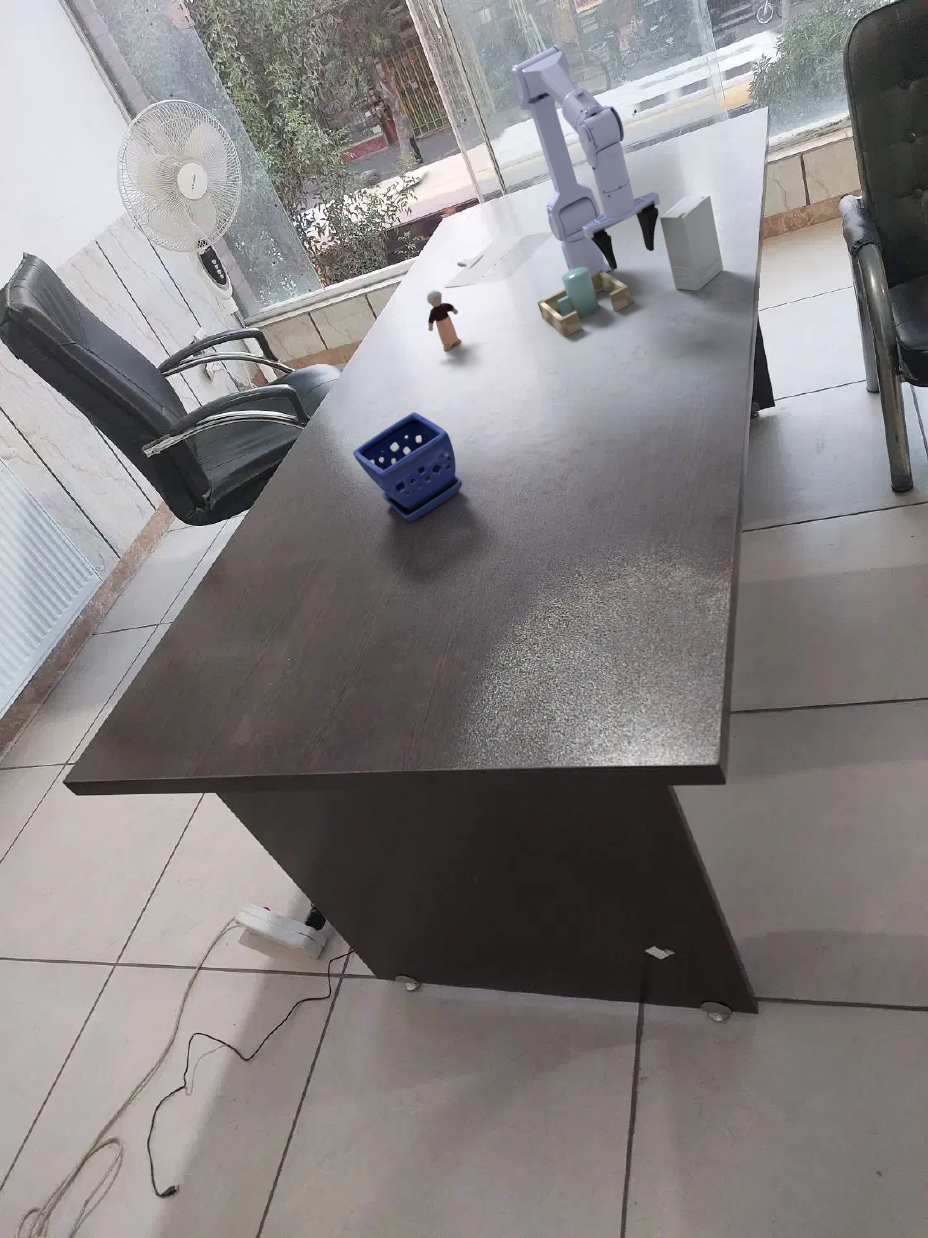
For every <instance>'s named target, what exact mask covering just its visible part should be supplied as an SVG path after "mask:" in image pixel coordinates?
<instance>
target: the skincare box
mask: <svg viewBox="0 0 928 1238" xmlns="http://www.w3.org/2000/svg"><path fill="white" fill-rule="evenodd" d="M712 204H713V203H712V200H711V195H685V196H684V197H682V198H681V199H680V200H679V201H677V203H675V204H674V205H673V206H672V207H671V208H669V209H668V210H667V211H666V212H665V213H663V214H662V215H661V216H660V217H659V220H660V224H661V229H662V234H663V238H664V241H665V242H664V243H665V247H666V250H667V256H668V261H669V265H670V269H671V274H672V275H671V276H672V280H673V283H674V288H675V289H677V290H685V291H686V290H687V291H693V292H695V291H696V292H699V291H700V290H701V289H702V288H703V287H704V286H706V285H707V284H708V283H709V282H710V281H711V280H712V279H713V278H715V277H716V276H717V275H718V274H719V273H721V272H722V270H724V264H723V259H722V254H721V250H720V249H721V248H720V244H719V238H718V233H717V227H716V222H715V221H716V220H715V217H714V216H715V215H714V211H713V205H712Z"/></svg>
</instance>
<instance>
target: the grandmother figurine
mask: <svg viewBox="0 0 928 1238" xmlns="http://www.w3.org/2000/svg"><path fill="white" fill-rule="evenodd" d="M442 297H443V295H442V292H440V291H439V290H438V289H437V290H436V289H434V290H432V289H431V290H430V291H429V292H428V293H427V294H426V301H427V303H428V304H430V305H431V306H432V308H431V310H430V312H429V316H428V321H427V322H428V329H427V330H428V331H429V332H433V330H434V327H433V326H434V323H435V324H436V329H437V332H438V336H439V338H440V341H441V344H442V345H443V346H442V347H443V351H445V352H447V351H449V350H451V349H452V348H453V345H454V346H456V345H458V344H460V343H462V340H461V339H460V338H459V337H458V336H457V332H456V328H455V326H454V324H453V321H452V319H451V317H450V315H449V314H448V313H449V312H451V313H453V314H454V315H458V313H459V311H458V309H456V308H455V306H454V305H453V304H452V303H450V302H449V303H448V302H443V300H442Z"/></svg>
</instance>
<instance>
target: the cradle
mask: <svg viewBox="0 0 928 1238" xmlns="http://www.w3.org/2000/svg"><path fill="white" fill-rule="evenodd" d="M591 279H592V283H593V286H594V290H595V293H596V294H597V293H599V292H601V291H602V289H603V290H604V291H606V292H607V293H609V294H608V295H609V297H610V301H611V305H612V309H613V311H615V312H617V311H620V310H621V309H624V308H625V307H627V306H629V305H632V304H633V300H632V296H631V292H630V291H631V290H630V288H629V285H626V284H625V283H623V282H621V280H618V279H617V278H615V277H614V276H612V275H610V274H609V273H607V272H604V271H602V270H601V271H599V272H597V273H595V274H593V275H591ZM565 296H567V293H566V290H565V288H563V289H561V290H559V291H558V292H555V293H554V294H551V295H548V296H547V297H545V298H544V299H542V300H540V301H538V302H537V305H538V309H539V312H540V314H541V317H542V319H543V320H544V321H545V322H547V323H549V324H550V326H552V327H553V328H554V329H555V330H557V332H559V333H560V334H561V335H562V336H564V337H565V338H566V337H568V336H569V335H572V334H574V333H576V332H577V331H580V330H582V329H583V327H582V324H581V321H580V320H581V319H580V318H579V317H578V313H577V312H576V311H574V312H570V313H568V314H566V315H564V316H563V315H562V314H561V313H558V312H561V311H560V308H559V305H558V301H557V300H559V299H561V298H563V297H565Z"/></svg>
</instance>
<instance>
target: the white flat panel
mask: <svg viewBox="0 0 928 1238" xmlns="http://www.w3.org/2000/svg"><path fill="white" fill-rule="evenodd" d="M524 237H525V235H519V236H511V237H510V236H509V237H501V238H494V240H492V241H491V242H490V243H489V244H488V245H487V246H486V247H485V248H483V250H481V251H480V252H479V253H478V254H477V255H476V256H475V257H472V258H469V259H468V258H467V259H463V260H461V261H459V262H457V266H460V267H464V268H462V269H461V270H460V272H458V273H457V274H456V275H455V276H454V277H453V278H452V279H450V281H449V282H448V283H446V285H445V286H444V288H452V287H453V288H454V287H456V288H457V287H466V286H475V284H477V282H479V281H480V280H481V278H483V277H484V276H485V275H486V274H487V273H488V272H489V271H490V270H491V269H492V268H493V267H495V265H496V264H497V263H498V262H499V261H501V259H503V257H504V256H506V254H508V253H509V252H510V251H511V250H512V248H514V247H515V246H516V245H517V244H518V243H519V242H520V241H521V240H522V239H523V238H524Z"/></svg>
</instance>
